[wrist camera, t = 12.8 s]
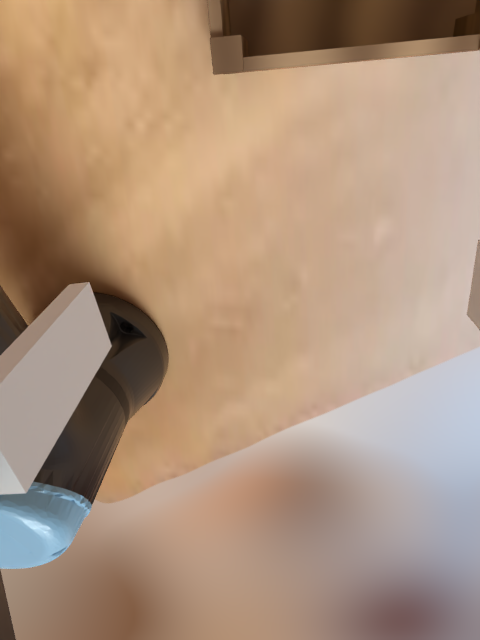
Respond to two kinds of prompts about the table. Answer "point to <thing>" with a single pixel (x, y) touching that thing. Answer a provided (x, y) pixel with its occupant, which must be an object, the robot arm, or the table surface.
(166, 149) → the table surface
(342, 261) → the table surface
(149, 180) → the table surface
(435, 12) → the walnut crate
